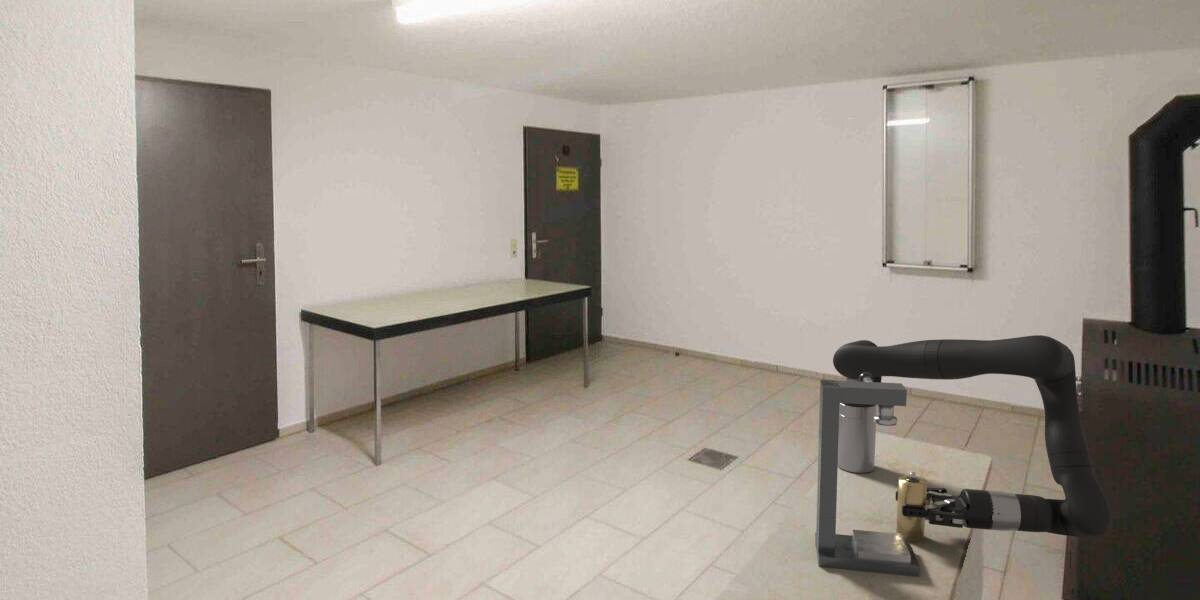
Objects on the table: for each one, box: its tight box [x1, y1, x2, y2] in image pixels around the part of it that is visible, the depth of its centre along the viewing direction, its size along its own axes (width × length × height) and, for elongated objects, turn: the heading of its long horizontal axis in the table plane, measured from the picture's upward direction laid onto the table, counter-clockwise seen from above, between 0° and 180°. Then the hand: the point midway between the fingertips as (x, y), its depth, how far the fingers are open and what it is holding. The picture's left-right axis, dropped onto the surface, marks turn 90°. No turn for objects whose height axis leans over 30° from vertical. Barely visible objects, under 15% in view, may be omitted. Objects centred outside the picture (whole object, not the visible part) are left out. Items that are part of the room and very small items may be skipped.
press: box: [814, 372, 921, 577], centre depth 133 cm, size 18×18×34 cm
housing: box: [895, 471, 928, 544], centre depth 139 cm, size 5×5×14 cm
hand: (899, 502), depth 140 cm, fingers open, 6 cm apart
